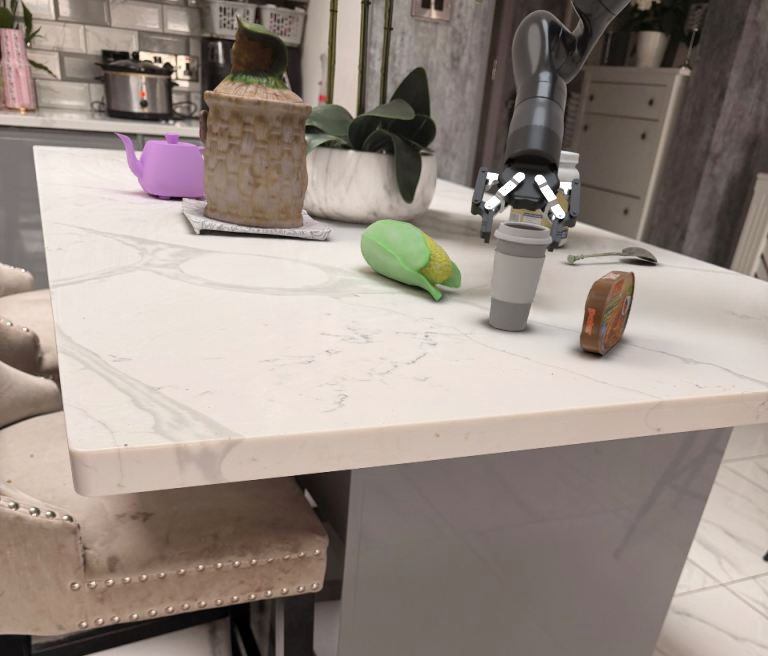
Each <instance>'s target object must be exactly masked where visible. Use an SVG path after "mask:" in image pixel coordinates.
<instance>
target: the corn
mask: <svg viewBox="0 0 768 656" xmlns="http://www.w3.org/2000/svg"><path fill="white" fill-rule="evenodd" d="M360 252H361V255H362V257H363V259H364V261H365V262H366V263H367V265H368V266H369V267H370V268H371V269H373V270H374V271H375V272H377V274H379V275H382V276H384V277H386V278H389V279H392V280H394V281H397V282H401V283H403V284H406V285H408V286H414V287H420V288H422V289H424V290H425V291H427V292H428V293H429V294H430V295H431V296H432V297H433V299H434V300H435V301H436V302H437V301H440V299H441V298H442V294H443V293H442V291H441V290H440V288H439V287H437V285H440V286H444V287H447V288H452V289H459V288H461V283H462V273H461V270H460V269H459V267H458V266H457V264H456V262H454V261H453V260H451V258H450V256H449V255H448V253H447V251H446V250H445V249H444V248H443V247H442V246H441V245H440V244H438V242H436V241H434V239H433V238H432V237H431V236H429V235H428V234H426V233H425V232H423V230H421V228H419V227H417V226H415V225H413V224H412V223H410V222H405V221H400V220H395V219H389V218H388V219H387V218H386V219H379V220H377V221H374V222H373V223H371V224H369V226H368V227H366V229H365V230H364V231H363V233H361V235H360Z"/></svg>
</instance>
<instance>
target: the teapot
mask: <svg viewBox="0 0 768 656" xmlns="http://www.w3.org/2000/svg"><path fill="white" fill-rule="evenodd" d="M114 134H115V135H117V136H118V137H119V138H120V139H121V141H122V142H123V145H124V148H125V153H126V154H125V155H126V160H127V165H128V168H129V170H130V172H131V173H132V174H133V176H134V177H136V178H137V181H138V183H139V185H140V187H141V189H142V190H143V191H144V192H146V193H147V194H150V195H154V196H158V199H162V200H171V197H175V198H176V197H178V198H187V199H193V200H197V198H198V197H199V198H201V197H204V196H206V195H205V193H204V189H203V166H204V159H203V155H202V153H201V152H204V147H205V146H202V145H199V146H197V145H196V144H194V143H190V142H183V141H179V139H180V134H178V133H174V132H165V133H164V138H165V140H157V139H154V140H153V139H150V140H149V139H148V140H147V141H146V142H145V144H144V147H143V149H142V151H141V154H140V157H139V159H138V158H137V156H136V152H135V148H134V144H133V141H132V139H131V138H130V137H129V136H127V135H125V134H121V133H118V132H114Z"/></svg>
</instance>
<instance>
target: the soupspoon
mask: <svg viewBox="0 0 768 656" xmlns="http://www.w3.org/2000/svg"><path fill="white" fill-rule="evenodd" d="M609 256H610V257H611V256H617V257H619V256H620V257H636V258H639V259H641V260H644V261H646V262H650V263H656V264H657V263H658V259H657V257H656V256H655V255H654V254H653V253H651V251H649V250H647V249H645V248H642V247H638V246H630V247H629V246H628V247H625V248H623V249H621V251H618V252H617V251H616V252H615V251H611V252H600V253H599V252H598V253H590V254H583V253H582V254H577V255H572V254H568V255H567V257H566V258H567V259H566V260H567V262H568V263H567V264H569V265H573V264H574V263H575V262H576V261H580V260H584V259H588V258H596V257H609Z"/></svg>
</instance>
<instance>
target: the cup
mask: <svg viewBox="0 0 768 656" xmlns="http://www.w3.org/2000/svg"><path fill="white" fill-rule="evenodd" d="M493 236H494V237H495V239H496V246H495V247H496V248H495V249H494V256H493V257H494V258H493V266H492V267H493V268H492V275H491V276H492V277H491V285H490V286H491V287H490V307H489V318H488V324H489V326H491V327H493V328H495V329H498V330H503V331H508V332H509V331H510V332H521V331H525V329H526V326H527V323H528V319H529V316H530V311H531V308H532V304H533V302H534V301H535V297H536V293H537V290H538V285H539V283H540V279H541V275H542V271H543V268H544V264H545V260H546V256H547V255H546V253H547V252H546V251H547V249H548V247H547V245H549V244H550V243H552V237H551V236H550V229H549V228H547V227H544V226H541V225H536V224H531V223H523V222H508V221H501V222H500V223H499V226H498V228H497V229H495V231H494V233H493Z"/></svg>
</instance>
